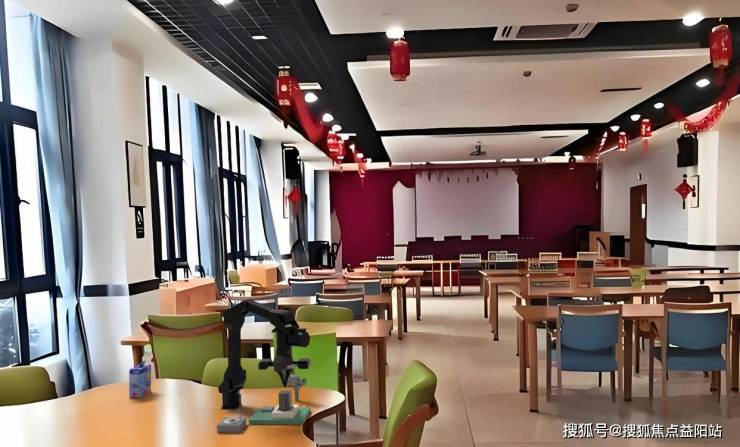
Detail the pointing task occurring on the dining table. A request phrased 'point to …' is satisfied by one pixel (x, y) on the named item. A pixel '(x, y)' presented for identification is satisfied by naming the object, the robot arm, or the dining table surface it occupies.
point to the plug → (285, 401)
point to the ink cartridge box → (140, 380)
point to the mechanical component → (296, 384)
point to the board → (280, 415)
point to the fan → (231, 425)
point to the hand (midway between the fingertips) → (285, 386)
